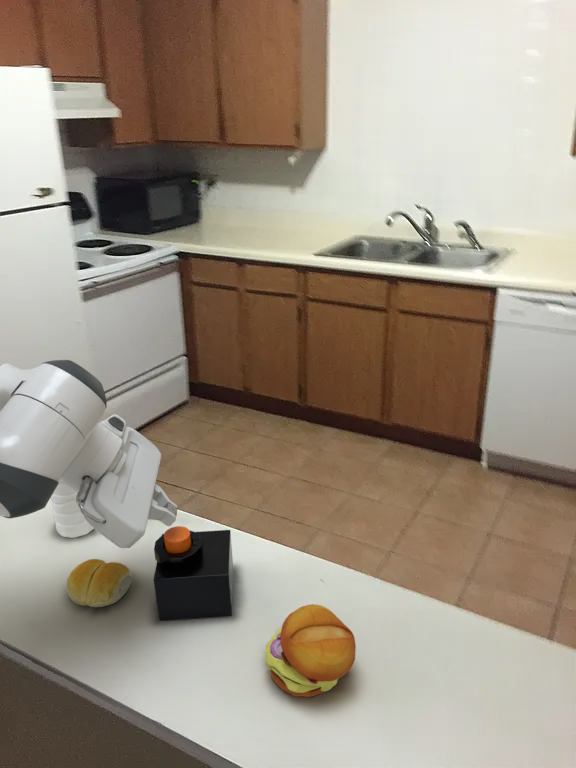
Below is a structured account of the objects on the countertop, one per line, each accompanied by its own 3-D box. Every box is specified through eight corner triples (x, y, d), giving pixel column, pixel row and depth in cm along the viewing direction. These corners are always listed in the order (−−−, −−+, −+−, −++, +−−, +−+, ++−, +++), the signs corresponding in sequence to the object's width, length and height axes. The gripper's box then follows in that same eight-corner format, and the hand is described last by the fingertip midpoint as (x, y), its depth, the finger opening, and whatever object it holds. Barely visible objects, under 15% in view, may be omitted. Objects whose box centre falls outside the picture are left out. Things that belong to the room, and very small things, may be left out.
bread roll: (87, 567, 103) (83, 545, 101) (139, 577, 100) (136, 555, 98) (55, 603, 95) (50, 581, 94) (110, 615, 93) (106, 592, 91)
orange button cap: (163, 555, 91) (162, 542, 90) (166, 538, 94) (165, 526, 93) (190, 553, 91) (188, 541, 90) (192, 537, 94) (191, 525, 94)
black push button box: (157, 621, 92) (149, 568, 88) (165, 573, 101) (158, 523, 97) (232, 616, 92) (227, 563, 88) (233, 568, 101) (229, 519, 97)
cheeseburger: (297, 624, 90) (310, 573, 85) (361, 676, 85) (380, 625, 80) (246, 670, 83) (258, 618, 78) (313, 730, 78) (330, 679, 73)
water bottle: (58, 542, 108) (29, 403, 98) (55, 521, 114) (27, 387, 104) (113, 529, 111) (90, 392, 101) (107, 508, 117) (85, 377, 107)
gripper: (89, 487, 76) (182, 551, 81) (119, 408, 95) (193, 463, 100) (56, 522, 78) (150, 582, 83) (92, 437, 97) (166, 490, 101)
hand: (174, 516), depth 91 cm, fingers closed
